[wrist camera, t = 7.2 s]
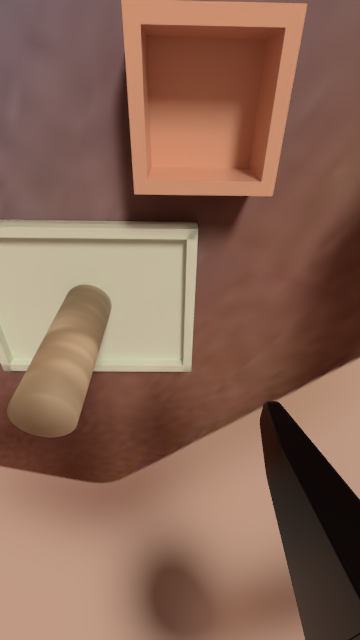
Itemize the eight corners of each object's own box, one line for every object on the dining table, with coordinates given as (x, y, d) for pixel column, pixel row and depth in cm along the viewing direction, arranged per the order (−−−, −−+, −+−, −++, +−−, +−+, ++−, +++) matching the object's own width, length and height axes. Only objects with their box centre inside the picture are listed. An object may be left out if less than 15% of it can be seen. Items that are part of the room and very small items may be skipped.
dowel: (108, 284, 20) (70, 394, 13) (113, 322, 22) (82, 437, 15) (61, 284, 20) (-4, 394, 13) (70, 322, 22) (17, 437, 15)
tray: (197, 221, 18) (198, 229, 17) (190, 360, 25) (191, 371, 24) (-47, 218, 18) (-59, 226, 17) (10, 359, 25) (3, 370, 24)
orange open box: (279, 21, 13) (307, 3, 11) (256, 178, 17) (272, 196, 14) (133, 18, 13) (121, -2, 10) (141, 176, 17) (134, 194, 14)
